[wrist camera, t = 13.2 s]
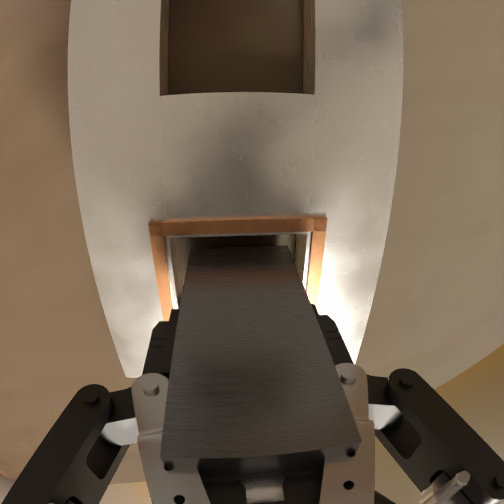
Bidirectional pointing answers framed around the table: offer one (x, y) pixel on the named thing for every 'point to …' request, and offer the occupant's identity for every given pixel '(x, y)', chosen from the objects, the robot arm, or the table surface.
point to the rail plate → (233, 160)
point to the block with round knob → (252, 375)
